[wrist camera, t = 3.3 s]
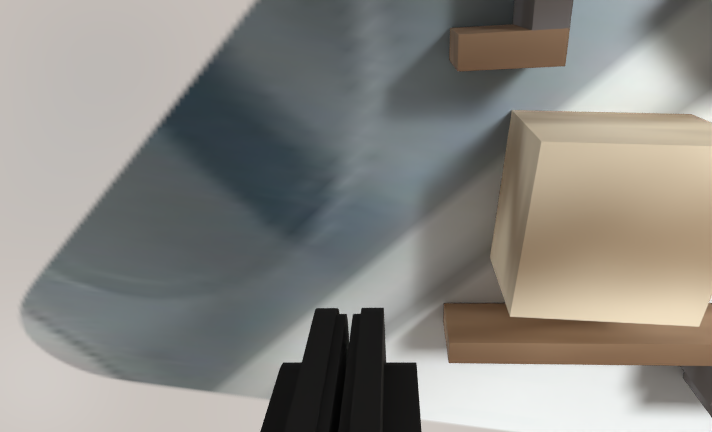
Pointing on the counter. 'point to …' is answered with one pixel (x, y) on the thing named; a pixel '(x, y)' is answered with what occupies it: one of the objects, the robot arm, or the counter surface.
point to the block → (606, 217)
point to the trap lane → (558, 336)
